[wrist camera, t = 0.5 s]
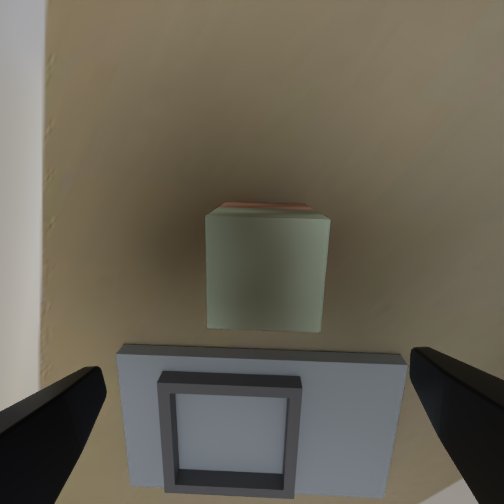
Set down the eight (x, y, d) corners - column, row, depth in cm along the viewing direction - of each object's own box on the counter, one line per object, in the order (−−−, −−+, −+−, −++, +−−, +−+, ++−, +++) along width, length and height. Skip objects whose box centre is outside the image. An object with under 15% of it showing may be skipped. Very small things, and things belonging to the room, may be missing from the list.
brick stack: (304, 203, 18) (330, 219, 11) (299, 278, 19) (320, 332, 13) (225, 201, 18) (205, 216, 11) (226, 276, 19) (207, 328, 13)
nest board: (399, 354, 20) (417, 376, 18) (377, 482, 24) (390, 515, 21) (123, 344, 21) (106, 365, 19) (136, 471, 24) (123, 502, 22)
